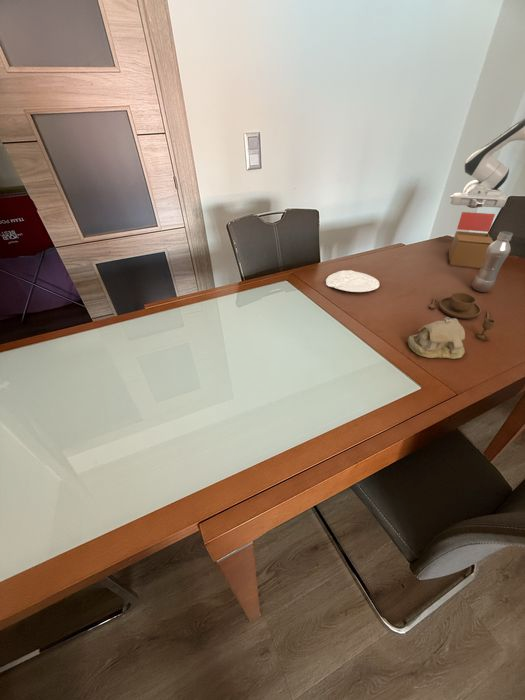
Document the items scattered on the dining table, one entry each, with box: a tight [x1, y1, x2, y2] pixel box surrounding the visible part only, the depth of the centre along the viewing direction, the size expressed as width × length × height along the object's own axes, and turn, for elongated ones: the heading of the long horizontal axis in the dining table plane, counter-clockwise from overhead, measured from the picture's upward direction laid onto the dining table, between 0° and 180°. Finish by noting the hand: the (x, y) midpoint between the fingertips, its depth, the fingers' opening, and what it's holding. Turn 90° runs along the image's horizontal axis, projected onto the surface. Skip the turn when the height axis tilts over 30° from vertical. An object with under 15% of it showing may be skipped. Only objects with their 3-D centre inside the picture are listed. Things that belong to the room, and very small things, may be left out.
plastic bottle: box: [471, 230, 514, 293], centre depth 102 cm, size 6×7×20 cm
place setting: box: [428, 292, 496, 341], centre depth 94 cm, size 18×20×6 cm
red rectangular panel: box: [456, 211, 496, 233], centre depth 126 cm, size 7×12×1 cm
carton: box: [448, 230, 494, 269], centre depth 125 cm, size 14×12×10 cm
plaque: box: [325, 269, 380, 293], centre depth 116 cm, size 20×20×2 cm
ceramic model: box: [407, 316, 466, 359], centre depth 82 cm, size 14×11×10 cm
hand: (479, 204), depth 126 cm, fingers closed
